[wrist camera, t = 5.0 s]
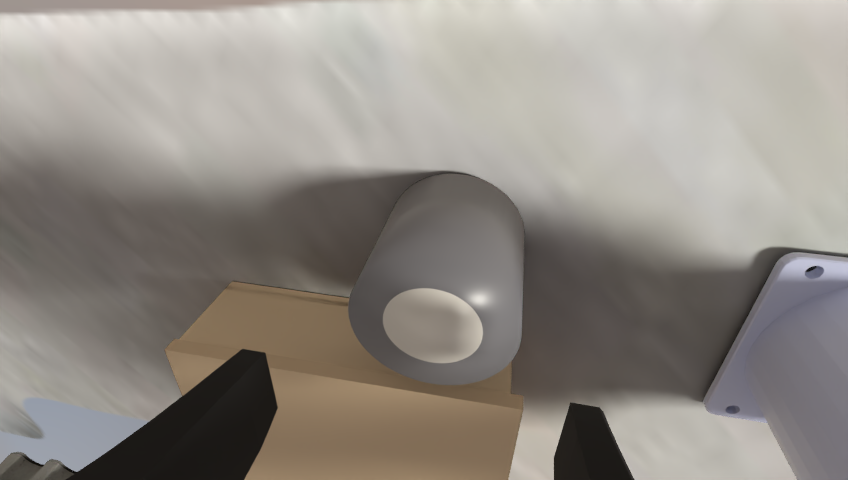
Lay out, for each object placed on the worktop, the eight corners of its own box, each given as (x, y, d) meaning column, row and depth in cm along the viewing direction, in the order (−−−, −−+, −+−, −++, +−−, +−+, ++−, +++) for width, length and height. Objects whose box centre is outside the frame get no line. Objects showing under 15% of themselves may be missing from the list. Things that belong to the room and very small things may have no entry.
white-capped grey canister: (520, 167, 15) (515, 254, 11) (528, 286, 18) (526, 390, 14) (377, 179, 17) (326, 260, 13) (404, 287, 19) (370, 382, 15)
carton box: (513, 321, 19) (510, 397, 16) (482, 500, 27) (476, 578, 23) (231, 281, 21) (176, 341, 18) (276, 458, 28) (243, 524, 25)
